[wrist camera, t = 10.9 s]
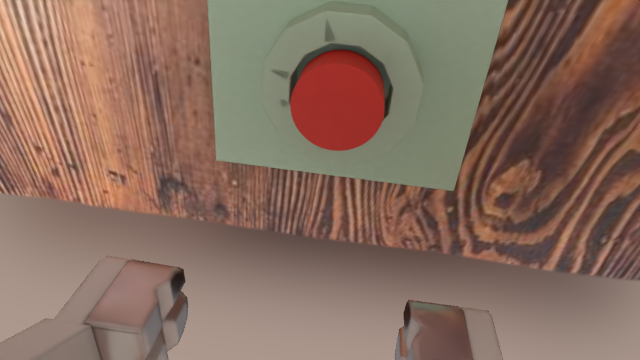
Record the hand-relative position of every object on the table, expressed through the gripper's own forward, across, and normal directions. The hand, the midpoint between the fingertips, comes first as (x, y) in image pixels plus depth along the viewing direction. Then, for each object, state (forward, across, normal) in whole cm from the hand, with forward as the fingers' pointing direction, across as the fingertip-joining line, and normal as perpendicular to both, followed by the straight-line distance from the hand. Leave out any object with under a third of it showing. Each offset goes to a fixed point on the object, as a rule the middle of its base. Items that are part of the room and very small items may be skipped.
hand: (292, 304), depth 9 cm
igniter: (+15, 0, 0) cm, 15 cm away
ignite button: (+12, 0, 0) cm, 12 cm away
